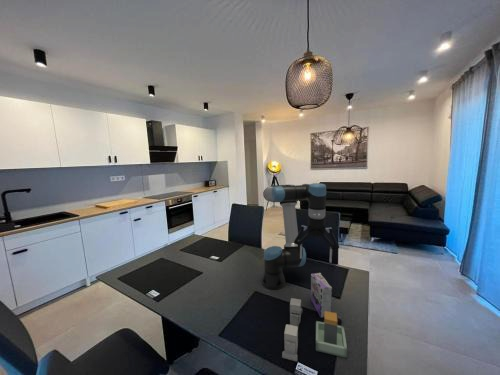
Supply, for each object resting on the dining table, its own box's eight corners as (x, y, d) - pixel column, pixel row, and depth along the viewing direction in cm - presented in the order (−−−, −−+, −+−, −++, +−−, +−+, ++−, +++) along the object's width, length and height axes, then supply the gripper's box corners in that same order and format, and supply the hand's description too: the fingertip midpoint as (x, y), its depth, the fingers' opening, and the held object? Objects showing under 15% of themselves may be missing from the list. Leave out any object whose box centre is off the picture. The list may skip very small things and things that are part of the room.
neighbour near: (284, 352, 88) (284, 333, 87) (286, 342, 93) (286, 324, 91) (296, 355, 86) (296, 336, 85) (297, 345, 91) (297, 326, 90)
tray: (315, 350, 88) (315, 342, 88) (316, 328, 99) (316, 320, 99) (346, 358, 84) (347, 349, 84) (343, 334, 96) (343, 326, 95)
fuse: (324, 343, 90) (324, 318, 89) (324, 334, 95) (324, 310, 93) (336, 347, 89) (337, 321, 87) (335, 337, 93) (336, 313, 92)
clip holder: (282, 357, 85) (282, 344, 85) (290, 309, 112) (290, 299, 111) (297, 361, 84) (297, 348, 83) (302, 312, 110) (302, 301, 109)
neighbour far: (290, 320, 105) (289, 304, 104) (291, 313, 109) (291, 297, 108) (300, 322, 103) (300, 306, 102) (301, 315, 108) (301, 299, 107)
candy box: (310, 299, 120) (310, 273, 117) (320, 299, 120) (320, 272, 118) (320, 318, 106) (320, 288, 104) (331, 317, 106) (332, 287, 104)
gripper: (288, 217, 97) (288, 259, 101) (347, 221, 90) (344, 267, 93) (290, 212, 104) (290, 252, 108) (344, 216, 97) (342, 258, 100)
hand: (315, 259), depth 101 cm, fingers open, 13 cm apart
